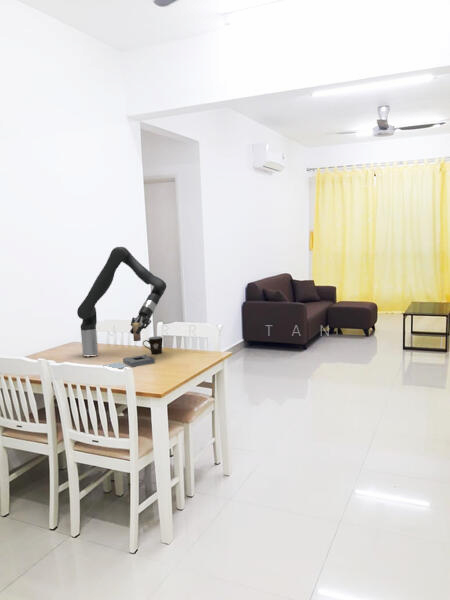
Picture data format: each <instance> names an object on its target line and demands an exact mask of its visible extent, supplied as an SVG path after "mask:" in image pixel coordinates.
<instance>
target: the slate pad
mask: <svg viewBox="0 0 450 600" xmlns="http://www.w3.org/2000/svg"><path fill="white" fill-rule="evenodd" d="M107 365H109V366H108V367H112V368H118V369H119V370H123V369H122V368H124V367H128V368H129V365H127V364H125V363H122V362H120V361H118V362H114V363H113V362H112V363H108V364H107V363H106V364H103V365H102V367H104V366H107Z"/></svg>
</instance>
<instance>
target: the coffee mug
mask: <svg viewBox="0 0 450 600" xmlns="http://www.w3.org/2000/svg"><path fill="white" fill-rule="evenodd" d="M145 342H148V344H149V346H147V345H145V344H144V343H145ZM142 345H143V346H144V348H146V349H149V351H150V353H151V355H154V356H155V355H161V354H162V352H163V336H159V335H158V336H156V335H155V336H150V337H148V340H147V339H146V340H143V341H142Z"/></svg>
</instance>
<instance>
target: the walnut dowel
mask: <svg viewBox="0 0 450 600" xmlns="http://www.w3.org/2000/svg"><path fill="white" fill-rule="evenodd" d="M139 325H140V323H133V334H132V335H133V342H139V341H141V339H142V337H141V332H140V333H139V334H137V333H136V331H137V329H138V327H139Z"/></svg>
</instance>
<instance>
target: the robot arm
mask: <svg viewBox="0 0 450 600" xmlns="http://www.w3.org/2000/svg"><path fill="white" fill-rule="evenodd" d="M122 263H123V264H124V265H126V266H128V267H129V268H130V269H131V270H132V272H133V273H134V274H135V275H136V276H137V277H138V278H139V279H140V280H141V281H142V282H143V283H145V284H146V285H151V286H153V287H152V290H151V291H150V294H149V295H148V296H147V298H146V299H145V301H144V302H143V303H142V306H141V308H140V309H139V311H138V315H137V316H136V317H132V318H131V322H130V326H131V329H130V332H129V333H130V334H131V335H133V323H140V325H139V327H138V329H137V331H136V333H137V334H139V333H140V334H141V332H142V330H143V329H147V328H148V326H149V325H150V324H151V323H152V320H151V317H152V315H153V314H154V312H155V310H156V308H157V306H158V304H159V302H160V299H161V298H162V296H163V295H164V293H165V292H166V289H167V283H166V282H165V281H164V280H163V279H161V278H160V277H159V276H156V275H154V274H153V273H152V272H151V271H150V270H149V269H148V268H146V267H144V266H143V264H142V263H140V262H139V261H138V260H137V259H136V258H135V256H133V254H131V252H130V251H129V249H128V248H126V247H124V246H116V247H114V248H113V249H112V250H111V251H110V254H109V256H108V258H107V261H106V263H105V265H104V266H103V267H102V269H101V271H100V272H99V274H98V275H97V277H96V278H95V280H94V282H93V284H92V286H91V287H90V289H89V291H88V293H87V295H86V297H85V298H84V299H83V301H82V302H81V304H80V305H79V306H78V308H77V310H76V313H77V317H78V318H79V319H81V321H82V322H81V324H80V334H81V336H80V337H81V346H82V347H81V348H82V356H83V355H97V354H98V355H99V348H98V336H97V323H98V320H97V309H96V305H97V303H98V301H100V299H101V298H102V297H103V296H104V295H105V294H106V293H107V291H108V290H109V288H110V287H111V285H112V283H113V281H114V277H115V273H116V271H117V269H118V268H119V266H120V265H121V264H122Z"/></svg>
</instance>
